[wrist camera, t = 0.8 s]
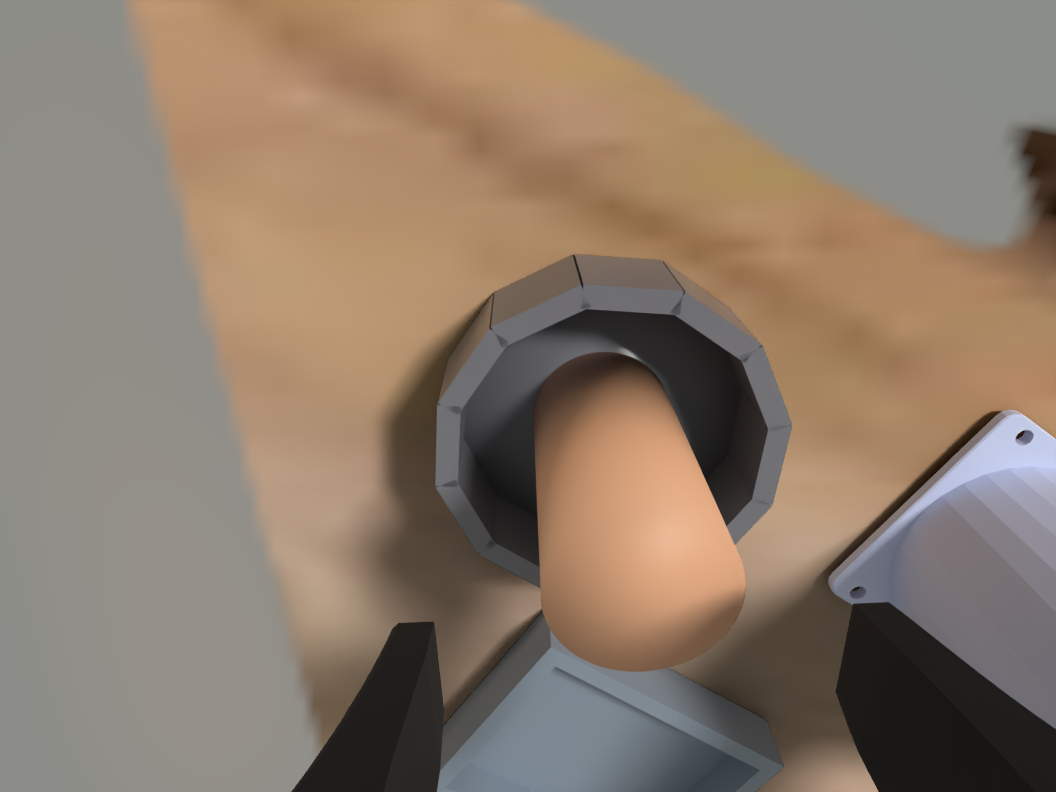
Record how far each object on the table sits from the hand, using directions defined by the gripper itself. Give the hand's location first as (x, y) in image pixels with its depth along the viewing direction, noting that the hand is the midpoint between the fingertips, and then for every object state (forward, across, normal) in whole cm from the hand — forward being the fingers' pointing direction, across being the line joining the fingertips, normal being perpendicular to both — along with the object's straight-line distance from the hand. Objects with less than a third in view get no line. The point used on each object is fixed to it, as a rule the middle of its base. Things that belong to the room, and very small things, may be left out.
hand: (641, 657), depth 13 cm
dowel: (+10, 0, 0) cm, 10 cm away
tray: (+10, 0, +14) cm, 17 cm away
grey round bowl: (+10, 0, 0) cm, 10 cm away
